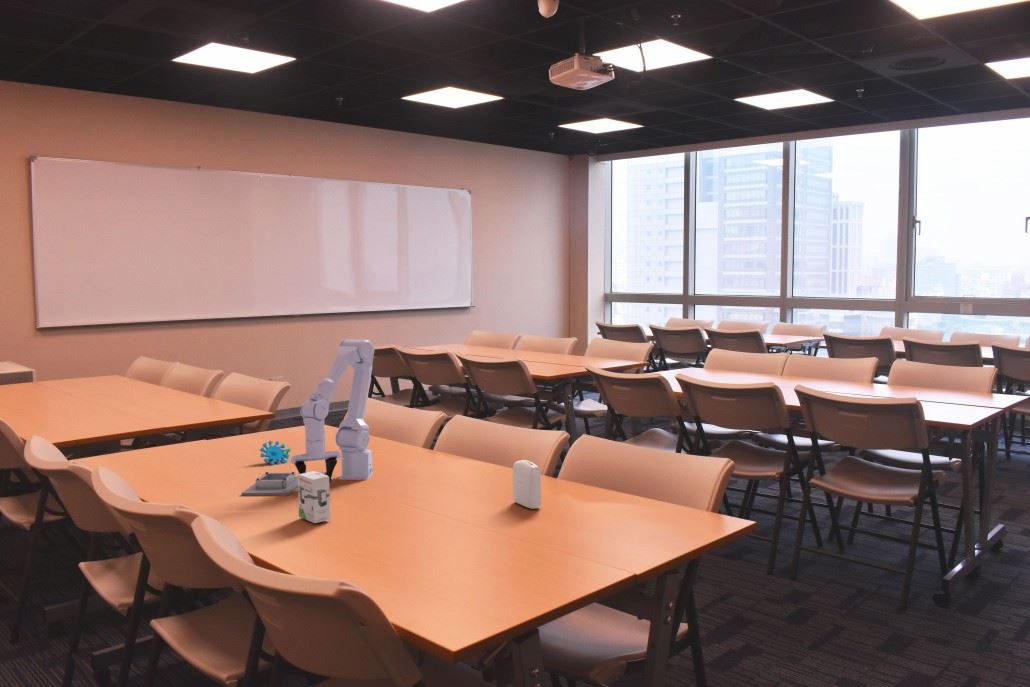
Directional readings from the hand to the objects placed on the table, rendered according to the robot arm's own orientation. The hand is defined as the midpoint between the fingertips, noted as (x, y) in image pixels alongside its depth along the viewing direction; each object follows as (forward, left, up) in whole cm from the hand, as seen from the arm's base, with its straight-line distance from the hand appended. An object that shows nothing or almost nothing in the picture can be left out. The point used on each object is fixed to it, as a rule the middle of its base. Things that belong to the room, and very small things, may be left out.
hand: (316, 484), depth 248 cm
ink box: (-8, +31, -2) cm, 32 cm away
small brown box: (0, 0, -1) cm, 1 cm away
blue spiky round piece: (+22, -32, -3) cm, 38 cm away
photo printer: (-64, +18, -2) cm, 66 cm away
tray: (+13, -2, -1) cm, 13 cm away
